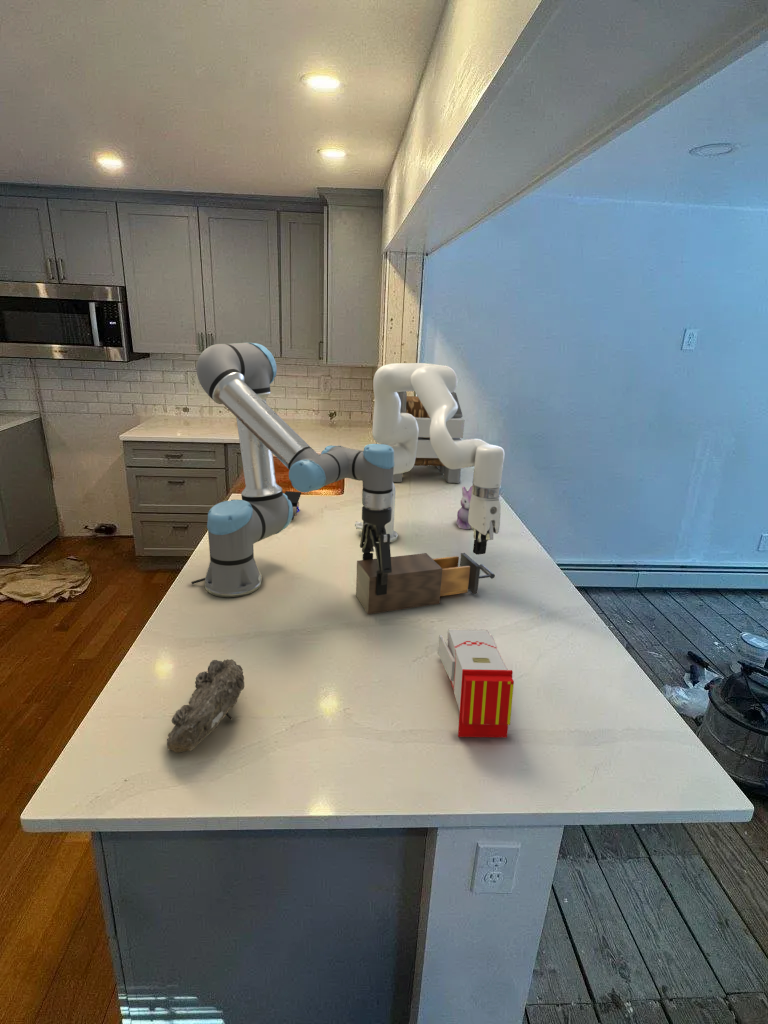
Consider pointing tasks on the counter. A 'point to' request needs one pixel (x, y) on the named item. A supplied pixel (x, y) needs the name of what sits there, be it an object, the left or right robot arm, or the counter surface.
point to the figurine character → (294, 501)
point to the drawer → (460, 574)
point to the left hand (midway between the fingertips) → (374, 584)
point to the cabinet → (400, 583)
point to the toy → (478, 682)
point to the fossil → (206, 705)
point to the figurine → (464, 509)
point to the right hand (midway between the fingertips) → (479, 553)
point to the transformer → (424, 447)
